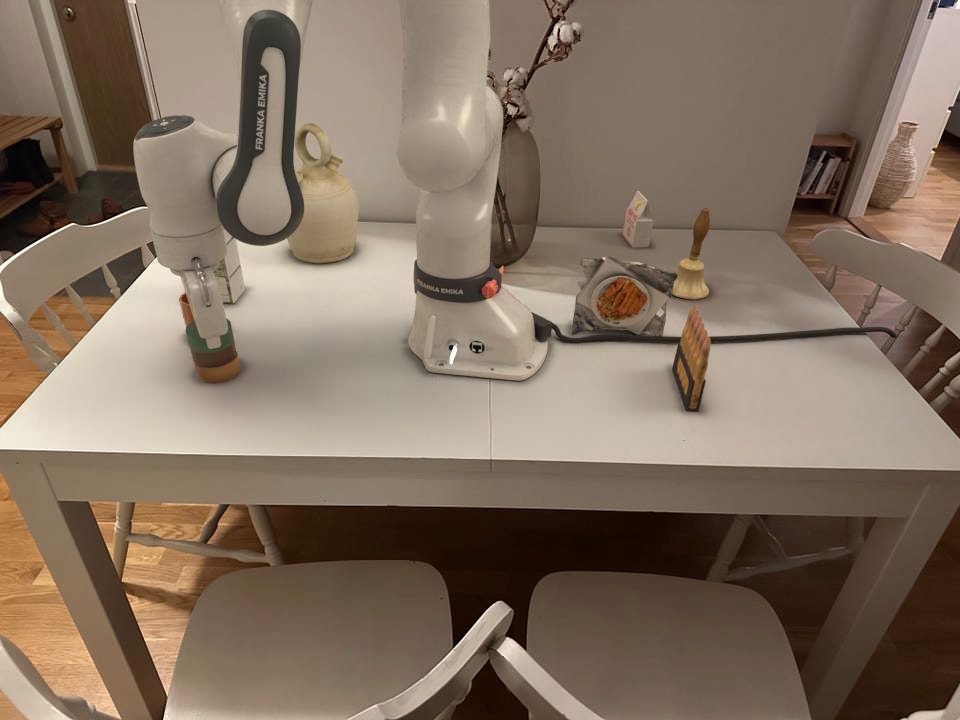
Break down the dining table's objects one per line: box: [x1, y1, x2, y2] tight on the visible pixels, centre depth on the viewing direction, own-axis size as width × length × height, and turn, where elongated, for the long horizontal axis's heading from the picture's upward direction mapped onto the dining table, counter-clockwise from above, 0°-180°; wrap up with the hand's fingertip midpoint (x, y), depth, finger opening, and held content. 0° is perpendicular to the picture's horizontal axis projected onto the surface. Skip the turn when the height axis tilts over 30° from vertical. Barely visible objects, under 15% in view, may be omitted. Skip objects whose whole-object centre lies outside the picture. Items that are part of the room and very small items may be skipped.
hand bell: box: [672, 207, 711, 301], centre depth 125 cm, size 8×8×16 cm
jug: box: [286, 122, 360, 264], centre depth 132 cm, size 15×16×25 cm
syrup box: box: [214, 227, 246, 304], centre depth 118 cm, size 6×6×14 cm
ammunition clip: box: [671, 304, 712, 412], centre depth 100 cm, size 11×2×12 cm, turn 178°
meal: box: [571, 256, 678, 336], centre depth 112 cm, size 15×4×13 cm, turn 81°
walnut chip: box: [189, 340, 238, 367], centre depth 101 cm, size 6×6×3 cm
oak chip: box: [193, 351, 241, 384], centre depth 102 cm, size 6×6×3 cm
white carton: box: [621, 190, 654, 249], centre depth 145 cm, size 4×7×10 cm, turn 8°
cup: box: [178, 291, 194, 328], centre depth 109 cm, size 6×6×7 cm
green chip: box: [185, 317, 235, 353], centre depth 99 cm, size 6×6×3 cm
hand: (209, 332), depth 99 cm, fingers closed on green chip, 6 cm apart
